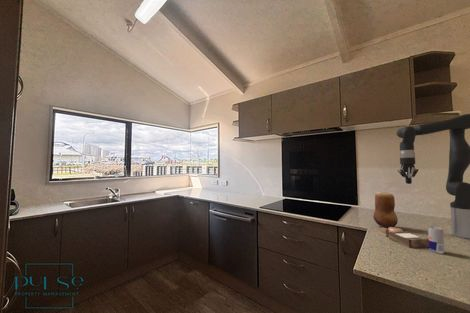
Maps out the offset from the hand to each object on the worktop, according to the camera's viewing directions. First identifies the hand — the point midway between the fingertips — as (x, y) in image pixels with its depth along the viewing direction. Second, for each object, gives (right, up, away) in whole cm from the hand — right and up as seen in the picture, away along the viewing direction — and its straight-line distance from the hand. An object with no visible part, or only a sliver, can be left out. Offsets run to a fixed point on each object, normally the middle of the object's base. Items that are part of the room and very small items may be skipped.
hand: (408, 183), depth 126 cm
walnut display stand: (-14, -31, -16) cm, 38 cm away
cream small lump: (-11, -32, -4) cm, 34 cm away
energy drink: (-10, -31, -28) cm, 43 cm away
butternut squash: (-7, -33, +11) cm, 35 cm away
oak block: (-19, -32, -3) cm, 37 cm away
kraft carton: (-15, -32, -16) cm, 38 cm away
